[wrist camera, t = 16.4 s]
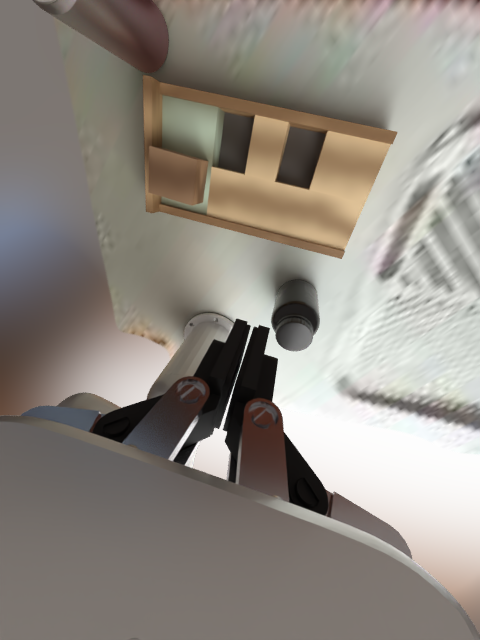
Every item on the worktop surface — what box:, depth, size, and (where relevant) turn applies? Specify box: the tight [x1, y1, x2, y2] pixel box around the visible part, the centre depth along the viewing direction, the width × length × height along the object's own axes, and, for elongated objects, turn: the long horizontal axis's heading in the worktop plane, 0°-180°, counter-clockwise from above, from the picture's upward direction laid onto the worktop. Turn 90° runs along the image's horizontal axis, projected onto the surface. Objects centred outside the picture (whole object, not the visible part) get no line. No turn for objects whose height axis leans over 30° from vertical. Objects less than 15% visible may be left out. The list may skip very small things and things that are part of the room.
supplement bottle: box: [271, 280, 320, 351], centre depth 36 cm, size 7×7×12 cm
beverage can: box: [33, 0, 169, 73], centre depth 22 cm, size 6×6×15 cm
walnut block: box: [148, 146, 209, 206], centre depth 31 cm, size 5×6×4 cm
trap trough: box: [143, 75, 397, 259], centre depth 31 cm, size 14×28×6 cm, turn 79°
